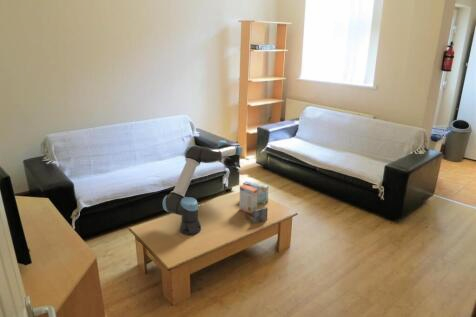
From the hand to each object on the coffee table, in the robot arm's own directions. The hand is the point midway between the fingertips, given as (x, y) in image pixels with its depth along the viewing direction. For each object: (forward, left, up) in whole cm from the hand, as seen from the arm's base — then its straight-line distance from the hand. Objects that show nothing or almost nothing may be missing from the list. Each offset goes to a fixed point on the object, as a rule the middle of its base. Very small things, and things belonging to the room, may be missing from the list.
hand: (241, 171), depth 273 cm
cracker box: (0, -12, -30) cm, 33 cm away
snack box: (+15, +2, -30) cm, 34 cm away
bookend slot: (0, -23, -30) cm, 38 cm away
